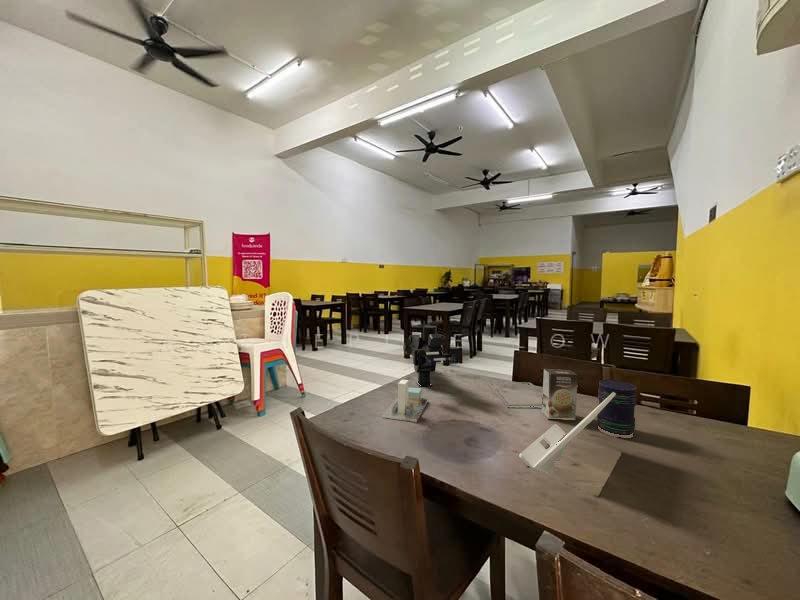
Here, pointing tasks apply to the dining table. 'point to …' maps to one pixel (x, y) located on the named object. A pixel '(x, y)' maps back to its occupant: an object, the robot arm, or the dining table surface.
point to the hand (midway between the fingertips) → (443, 362)
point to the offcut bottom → (414, 399)
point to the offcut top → (414, 392)
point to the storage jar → (617, 407)
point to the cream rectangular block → (402, 396)
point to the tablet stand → (544, 457)
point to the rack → (411, 412)
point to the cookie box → (559, 393)
